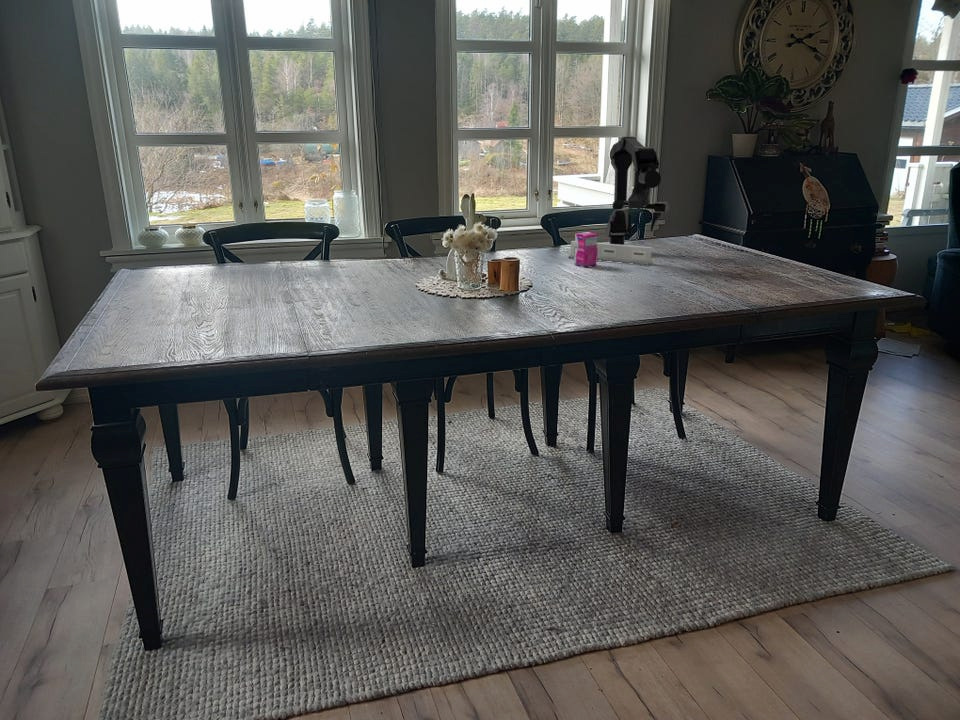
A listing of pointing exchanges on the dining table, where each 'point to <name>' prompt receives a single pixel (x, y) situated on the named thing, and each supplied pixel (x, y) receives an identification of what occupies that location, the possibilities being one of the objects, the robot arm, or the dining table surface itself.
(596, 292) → the dining table surface
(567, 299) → the dining table surface
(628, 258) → the panel
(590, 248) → the supplement box
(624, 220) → the robot arm
